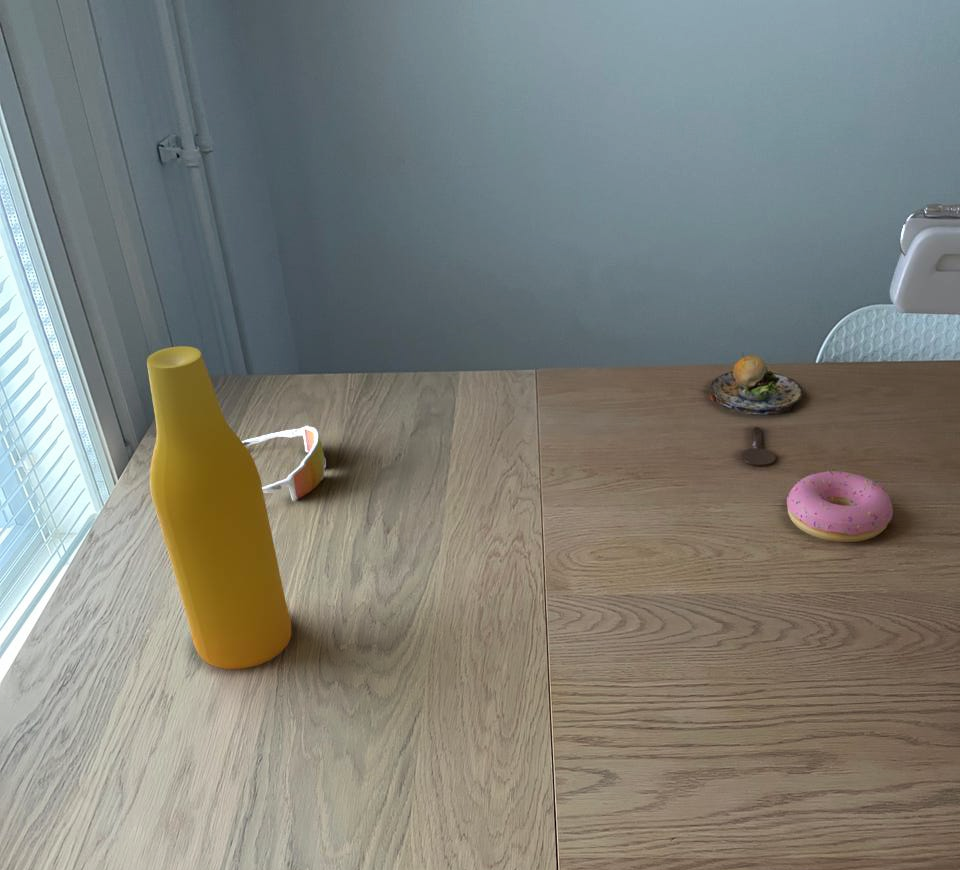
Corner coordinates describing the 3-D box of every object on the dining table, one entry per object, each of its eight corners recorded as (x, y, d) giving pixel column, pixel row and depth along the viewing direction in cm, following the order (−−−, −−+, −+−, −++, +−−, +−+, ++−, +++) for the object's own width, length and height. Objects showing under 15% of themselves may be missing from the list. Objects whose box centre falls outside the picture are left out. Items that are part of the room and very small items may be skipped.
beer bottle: (313, 639, 95) (258, 351, 76) (236, 689, 90) (157, 393, 71) (253, 602, 100) (188, 324, 81) (177, 648, 95) (89, 362, 76)
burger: (804, 422, 125) (814, 366, 120) (709, 419, 126) (715, 364, 122) (796, 382, 134) (805, 328, 129) (707, 379, 135) (713, 326, 131)
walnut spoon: (772, 434, 122) (773, 426, 122) (775, 472, 115) (776, 463, 115) (739, 433, 123) (740, 424, 122) (740, 470, 116) (741, 461, 115)
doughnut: (894, 506, 109) (903, 473, 106) (881, 559, 101) (890, 525, 98) (794, 488, 112) (800, 456, 110) (774, 538, 105) (780, 504, 102)
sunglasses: (323, 507, 113) (311, 470, 110) (199, 528, 115) (183, 492, 112) (337, 448, 124) (325, 413, 121) (223, 468, 126) (209, 433, 123)
